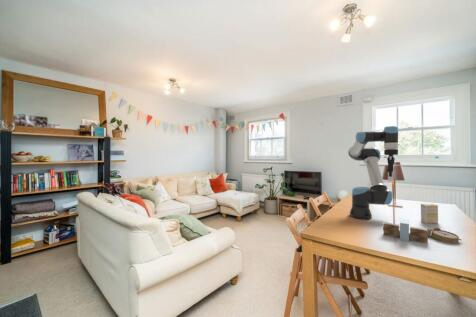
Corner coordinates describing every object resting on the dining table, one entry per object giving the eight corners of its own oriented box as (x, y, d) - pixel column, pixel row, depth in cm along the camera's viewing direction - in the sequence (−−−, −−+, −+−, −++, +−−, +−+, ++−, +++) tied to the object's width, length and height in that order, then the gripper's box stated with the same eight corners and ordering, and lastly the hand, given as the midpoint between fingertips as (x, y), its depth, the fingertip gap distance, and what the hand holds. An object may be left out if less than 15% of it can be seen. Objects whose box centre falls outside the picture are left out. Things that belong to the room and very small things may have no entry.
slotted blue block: (408, 241, 115) (408, 224, 115) (399, 239, 118) (399, 222, 118) (408, 236, 123) (408, 219, 123) (400, 234, 126) (400, 218, 125)
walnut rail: (383, 234, 126) (383, 223, 125) (383, 233, 128) (383, 222, 128) (427, 243, 113) (427, 230, 113) (427, 241, 115) (427, 229, 115)
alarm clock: (451, 239, 111) (420, 226, 125) (449, 248, 112) (418, 233, 126) (464, 237, 114) (432, 224, 128) (462, 245, 115) (431, 231, 129)
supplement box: (432, 221, 149) (432, 203, 148) (438, 223, 144) (438, 205, 144) (420, 221, 149) (420, 203, 149) (425, 223, 145) (425, 205, 144)
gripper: (397, 148, 126) (397, 182, 126) (398, 149, 145) (398, 178, 146) (382, 149, 131) (382, 182, 131) (385, 149, 150) (385, 178, 150)
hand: (391, 180), depth 138 cm, fingers open, 13 cm apart
